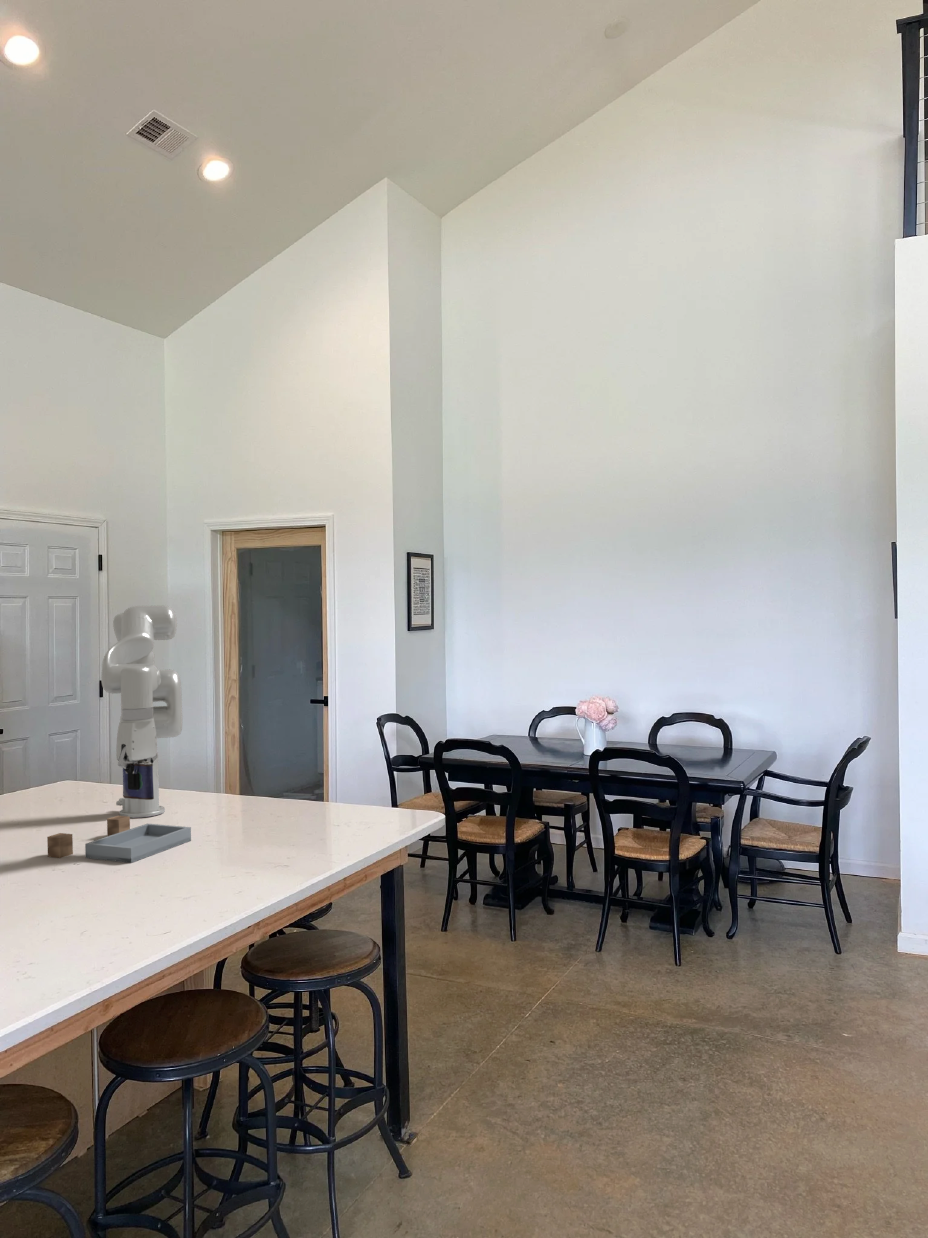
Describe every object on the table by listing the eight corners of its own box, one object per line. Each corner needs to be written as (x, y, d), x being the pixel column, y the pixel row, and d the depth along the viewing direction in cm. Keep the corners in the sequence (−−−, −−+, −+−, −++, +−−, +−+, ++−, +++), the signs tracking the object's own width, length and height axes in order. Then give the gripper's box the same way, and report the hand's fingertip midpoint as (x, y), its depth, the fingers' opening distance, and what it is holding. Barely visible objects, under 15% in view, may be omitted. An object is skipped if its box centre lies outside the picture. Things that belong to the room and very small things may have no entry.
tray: (85, 858, 222) (85, 843, 222) (147, 836, 243) (147, 823, 243) (131, 863, 217) (130, 848, 217) (191, 840, 238) (190, 827, 238)
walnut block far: (107, 837, 243) (106, 818, 243) (118, 834, 246) (117, 815, 246) (119, 838, 241) (118, 820, 241) (130, 835, 245) (129, 816, 245)
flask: (120, 798, 230) (120, 755, 230) (129, 796, 233) (128, 753, 233) (148, 800, 226) (148, 757, 227) (157, 798, 229) (156, 755, 229)
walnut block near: (47, 857, 224) (47, 836, 224) (60, 852, 228) (60, 833, 228) (60, 858, 223) (59, 838, 223) (72, 854, 226) (72, 834, 226)
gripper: (147, 711, 239) (149, 781, 239) (101, 718, 223) (103, 793, 224) (170, 712, 236) (172, 783, 236) (125, 719, 221) (127, 795, 221)
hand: (138, 787), depth 230 cm, fingers closed on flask, 2 cm apart
